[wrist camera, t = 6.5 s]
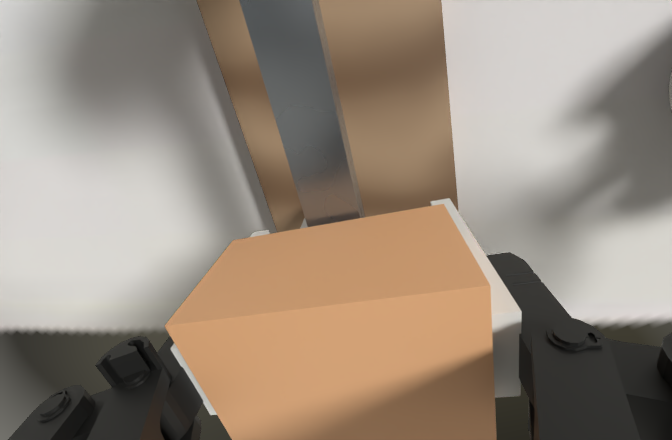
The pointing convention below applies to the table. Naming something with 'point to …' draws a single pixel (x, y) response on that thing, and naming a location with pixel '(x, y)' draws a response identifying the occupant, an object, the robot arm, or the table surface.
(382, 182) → the hole plate
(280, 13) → the grey piece
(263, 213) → the table surface
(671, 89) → the engine component
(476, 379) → the block
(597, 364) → the robot arm
